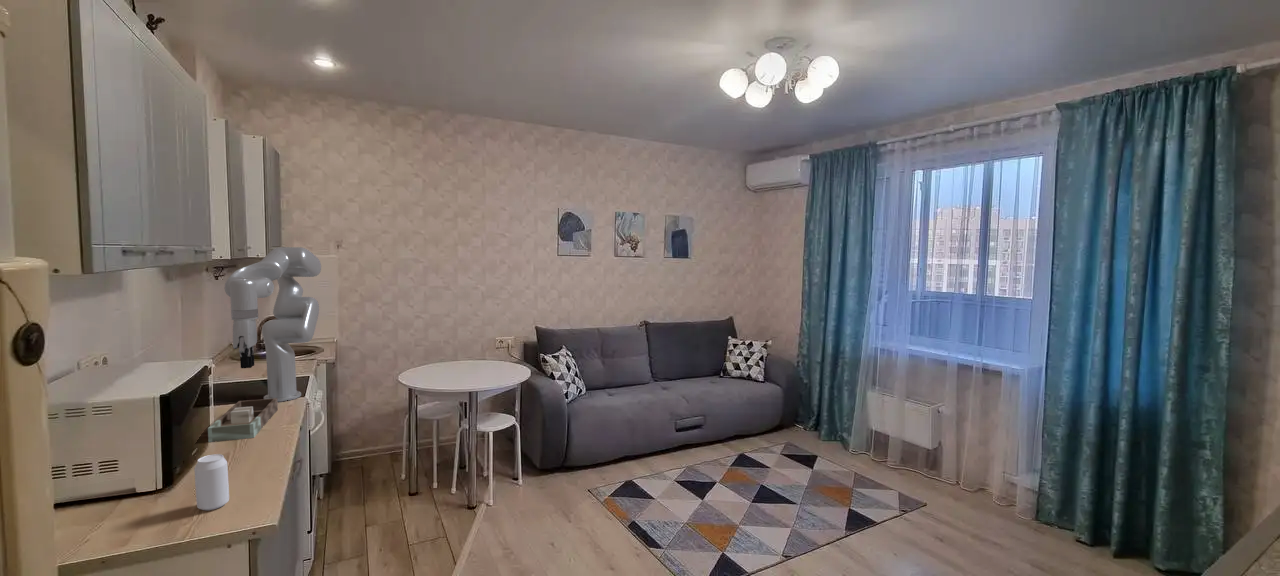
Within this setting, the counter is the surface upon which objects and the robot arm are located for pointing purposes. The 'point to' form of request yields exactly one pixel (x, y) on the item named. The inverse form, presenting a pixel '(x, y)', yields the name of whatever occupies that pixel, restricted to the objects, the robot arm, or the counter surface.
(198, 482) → the beverage can
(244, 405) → the box
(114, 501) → the counter surface
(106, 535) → the counter surface
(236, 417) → the block
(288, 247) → the robot arm
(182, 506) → the counter surface
